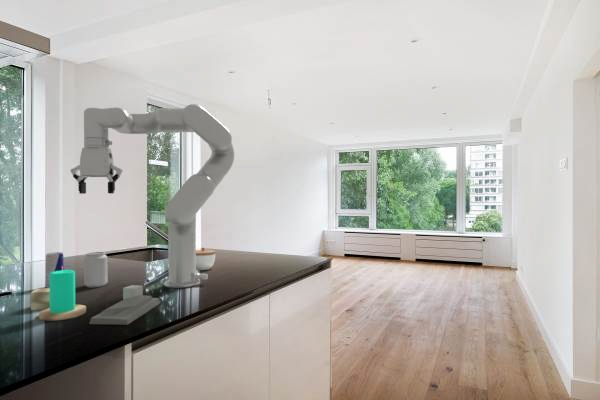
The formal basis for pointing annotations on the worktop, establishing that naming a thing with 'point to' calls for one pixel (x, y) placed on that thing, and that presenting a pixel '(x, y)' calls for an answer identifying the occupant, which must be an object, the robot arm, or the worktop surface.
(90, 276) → the can
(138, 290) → the grey stone block
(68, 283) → the candle
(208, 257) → the lidded jar
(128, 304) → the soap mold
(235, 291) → the worktop surface
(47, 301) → the maple cube
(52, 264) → the energy drink
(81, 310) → the disc
